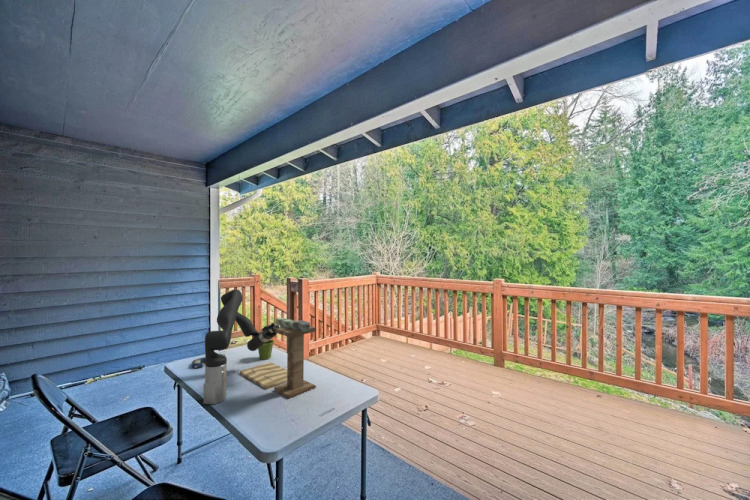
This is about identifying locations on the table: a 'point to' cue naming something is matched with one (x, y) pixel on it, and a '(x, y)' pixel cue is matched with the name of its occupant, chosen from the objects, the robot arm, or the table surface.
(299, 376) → the shelf stand
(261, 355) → the plant pot
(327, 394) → the table surface
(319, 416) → the table surface
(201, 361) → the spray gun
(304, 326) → the sanding stick
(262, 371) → the pine board
